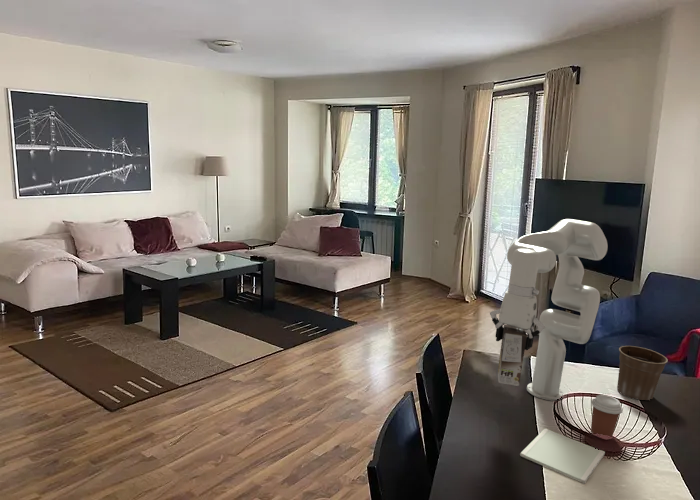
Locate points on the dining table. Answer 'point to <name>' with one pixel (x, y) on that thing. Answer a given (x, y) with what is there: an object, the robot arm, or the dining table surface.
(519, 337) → the coffee box
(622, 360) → the plant pot
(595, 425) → the coffee cup
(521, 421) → the dining table surface
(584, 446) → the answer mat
